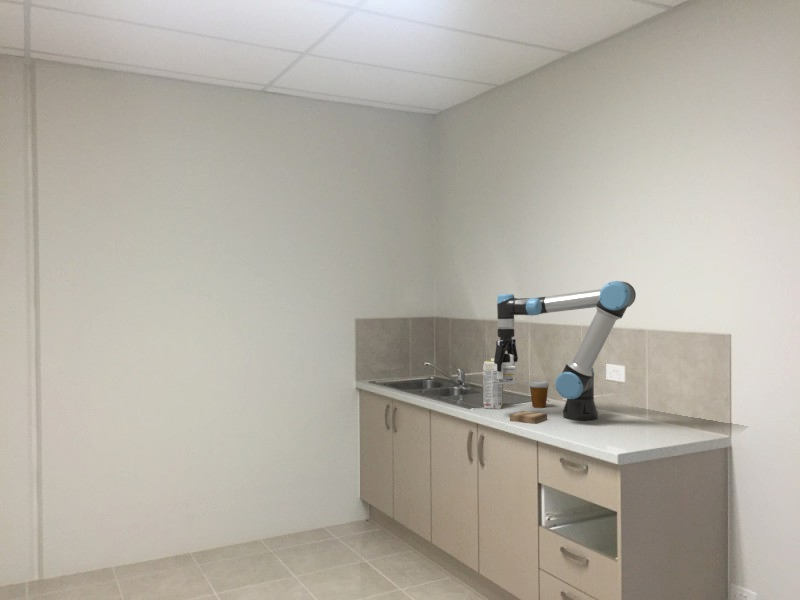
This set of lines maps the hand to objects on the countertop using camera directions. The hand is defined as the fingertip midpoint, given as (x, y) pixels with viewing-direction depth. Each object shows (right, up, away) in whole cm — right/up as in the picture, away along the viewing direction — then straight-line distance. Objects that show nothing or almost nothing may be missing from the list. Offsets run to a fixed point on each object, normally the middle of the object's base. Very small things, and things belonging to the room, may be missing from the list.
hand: (506, 377), depth 315 cm
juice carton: (-3, -18, +24) cm, 30 cm away
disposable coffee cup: (+20, -17, +25) cm, 37 cm away
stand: (+8, -18, -8) cm, 21 cm away
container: (0, -3, 0) cm, 3 cm away
